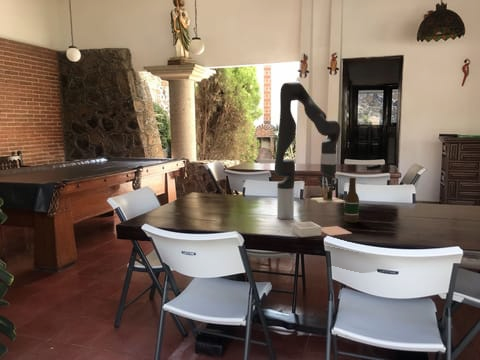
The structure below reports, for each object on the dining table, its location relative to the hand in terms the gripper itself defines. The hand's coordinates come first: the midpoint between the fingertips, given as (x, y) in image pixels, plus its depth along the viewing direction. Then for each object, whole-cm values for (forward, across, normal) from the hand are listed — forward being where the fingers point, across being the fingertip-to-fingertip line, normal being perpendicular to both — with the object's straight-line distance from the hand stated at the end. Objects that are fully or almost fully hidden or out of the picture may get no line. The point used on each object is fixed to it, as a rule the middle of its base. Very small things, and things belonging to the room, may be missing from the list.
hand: (327, 198), depth 186 cm
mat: (+17, 0, +4) cm, 17 cm away
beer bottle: (+17, -13, +23) cm, 31 cm away
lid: (+2, 0, 0) cm, 2 cm away
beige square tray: (+17, 0, -12) cm, 20 cm away
